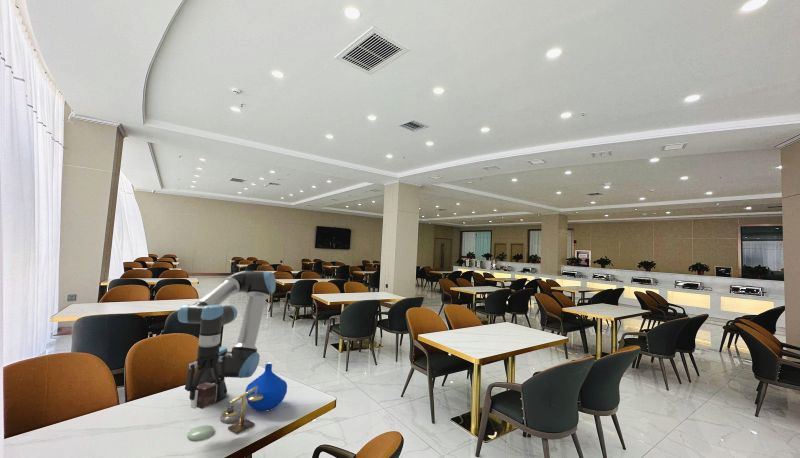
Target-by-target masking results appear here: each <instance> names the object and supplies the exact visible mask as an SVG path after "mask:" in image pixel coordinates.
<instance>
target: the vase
mask: <svg viewBox="0 0 800 458" xmlns="http://www.w3.org/2000/svg"><path fill="white" fill-rule="evenodd" d="M272 367H273V364H272V363H266V364H265V366H264V371H263V373H262V374H261V375H259V376H258V377H256V378H255V379H254V380H253V381H251V382H250V383H248V384H247V386H246V388H245V391H244V393H245V392H247V391H249V390H250V389H252V388H254V387H256V386H257V387H258V389H257V393H256V390H254V391H253V392H251V393H249V394H248V395H246V402H247V404H248V406H249V407H250V408H252V410H255V411H256V412H268V411H267V410H269V411H272V410H274V409H275V408H277V407H278V406H280V404H281V403H282V402H283V401H284V399H285V397H286V395H287V392H288V384H287V381H286V380H284V379H282V378H281V377H279V376H278V375H277V374H275V373H274V372H273V369H272ZM255 393H256V394H262V395H263V399H261V400H259V401H249V400H248V397H249V396H250V395H253V394H255ZM273 408H274V409H273ZM271 409H272V410H271Z"/></svg>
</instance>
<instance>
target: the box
mask: <svg viewBox="0 0 800 458" xmlns="http://www.w3.org/2000/svg"><path fill="white" fill-rule="evenodd" d="M216 389H217V384H213V383H209V382H205V383H202V384H200V385H198V386H197V389H196V390H197V391H198V397H197V407H196V409H197V408H198V409H202V410H203V409H205V408H207V407H210V406H211V405H213V404H216V403H215V401H216Z"/></svg>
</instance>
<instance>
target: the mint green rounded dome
mask: <svg viewBox="0 0 800 458" xmlns="http://www.w3.org/2000/svg"><path fill="white" fill-rule="evenodd" d="M214 432H215V427H214V426H212V425H208V424H205V425H199V426H196V427H193V428H191V429H190V430H189V431H188V432H187V435H186V438H187V439H188V440H189V441H202V440H205V439H208V438H209V437H211V436H213V434H214Z"/></svg>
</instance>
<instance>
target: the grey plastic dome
mask: <svg viewBox="0 0 800 458" xmlns="http://www.w3.org/2000/svg"><path fill="white" fill-rule="evenodd" d="M240 414H241V410H239V413H238V414H237V415H235V416H233V417H223V416H222V415H221V416H220V419H219V420H220V422H221V423H222V424H226V425H227V424H236V423H238V422H240Z"/></svg>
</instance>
